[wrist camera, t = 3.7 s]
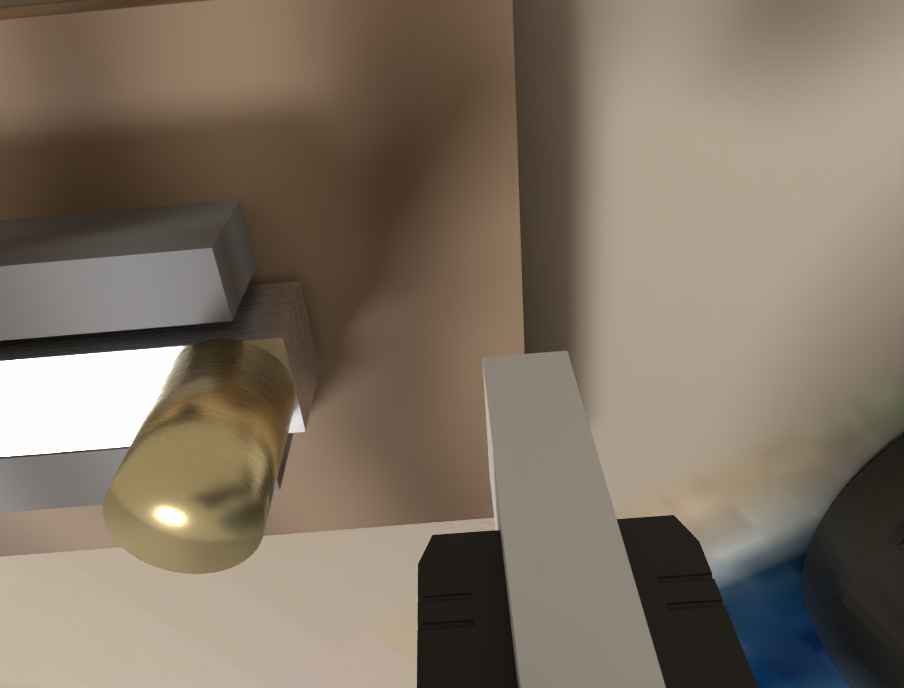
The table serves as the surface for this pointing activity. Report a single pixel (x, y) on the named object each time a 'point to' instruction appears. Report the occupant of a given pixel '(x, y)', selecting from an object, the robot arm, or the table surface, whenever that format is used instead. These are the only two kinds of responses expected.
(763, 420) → the table surface
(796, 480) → the table surface
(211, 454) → the bolt
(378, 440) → the lock board
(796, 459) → the table surface
